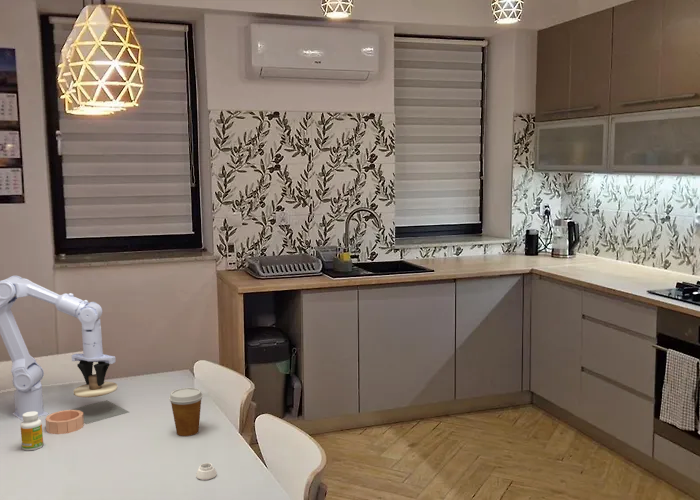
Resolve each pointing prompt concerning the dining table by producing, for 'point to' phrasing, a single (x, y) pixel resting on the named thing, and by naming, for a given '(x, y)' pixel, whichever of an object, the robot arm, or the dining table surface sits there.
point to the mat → (100, 411)
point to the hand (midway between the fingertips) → (95, 384)
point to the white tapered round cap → (206, 471)
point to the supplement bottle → (31, 431)
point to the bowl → (64, 421)
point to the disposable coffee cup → (186, 410)
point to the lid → (94, 388)
